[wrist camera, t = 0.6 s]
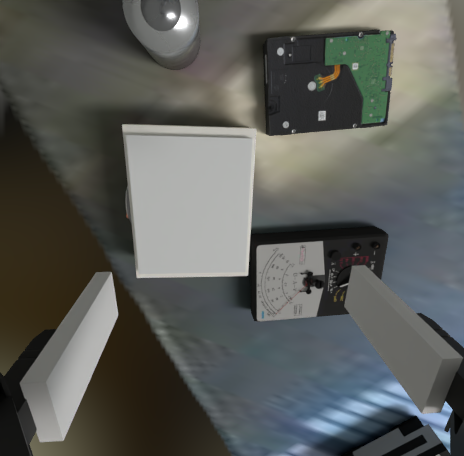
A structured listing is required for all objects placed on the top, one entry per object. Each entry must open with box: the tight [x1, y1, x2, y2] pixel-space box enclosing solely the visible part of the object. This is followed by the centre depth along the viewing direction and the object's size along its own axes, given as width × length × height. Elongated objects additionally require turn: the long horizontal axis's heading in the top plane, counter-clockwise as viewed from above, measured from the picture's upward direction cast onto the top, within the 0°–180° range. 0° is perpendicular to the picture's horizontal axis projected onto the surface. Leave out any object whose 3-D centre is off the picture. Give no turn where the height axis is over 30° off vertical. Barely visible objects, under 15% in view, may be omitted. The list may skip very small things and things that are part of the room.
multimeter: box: [250, 227, 388, 321], centre depth 42 cm, size 13×19×5 cm
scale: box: [122, 124, 256, 278], centre depth 35 cm, size 18×15×6 cm
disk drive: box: [263, 30, 396, 136], centre depth 34 cm, size 10×3×15 cm
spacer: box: [122, 0, 200, 70], centre depth 27 cm, size 6×6×10 cm
